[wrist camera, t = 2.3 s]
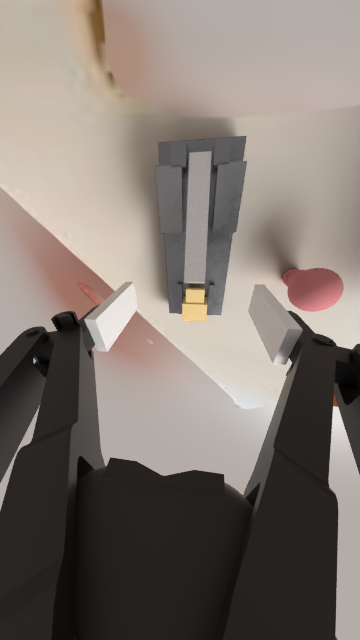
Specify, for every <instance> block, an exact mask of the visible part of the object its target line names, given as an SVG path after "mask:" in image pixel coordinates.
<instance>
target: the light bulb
mask: <svg viewBox="0 0 360 640" xmlns="http://www.w3.org/2000/svg"><path fill="white" fill-rule="evenodd" d="M283 282H284V284H286V286H288V297H289V300H290V302H291V303H292V304H293V305H294V306H295V307H297V308H299V309H301V310H304V311H312V312H314V311H321V310H324V309H327V308H329V307H331V306H332V305H334V304H335V303H336V302H337V301H338V300H339V299H340V297H341V295H342V293H343V282H342V280H341V278H340V277H339V276H338V275H337V274H336V273H335V272H333V271H331V270H328V269H324V268H314V269H309V270H298V269H290V270H288V271H287V272H285V274H284V275H283Z"/></svg>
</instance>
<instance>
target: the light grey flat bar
mask: <svg viewBox="0 0 360 640" xmlns="http://www.w3.org/2000/svg"><path fill="white" fill-rule="evenodd" d="M211 152H212V151H207V152H192V153H189V173H188V197H187V221H186V245H185V269H184V283H205V272H206V252H207V232H208V212H209V192H210V172H211Z"/></svg>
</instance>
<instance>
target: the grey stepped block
mask: <svg viewBox="0 0 360 640" xmlns="http://www.w3.org/2000/svg"><path fill="white" fill-rule="evenodd" d="M245 143H246V136H239V137H226V138H213V139H200V140H186V141H173V142H160V143H158V147H159V162H160V166H155V170H156V183H157V196H158V208H159V221H160V233H164V238H165V253H166V268H167V283H168V298H169V313H178V314H182V303H183V298H184V296H186V288H205V295H204V297H207V315H221V312H222V305H223V298H224V291H225V284H226V277H227V270H228V263H229V256H230V249H231V241H232V234H233V232H236V229H237V223H238V216H239V210H240V203H241V196H242V190H243V183H244V177H245V170H246V164H247V161H243V157H244V150H245ZM207 151H212V152H211V172H210V192H209V212H208V232H207V252H206V272H205V283H184V269H185V245H186V221H187V197H188V173H189V153H192V152H207Z"/></svg>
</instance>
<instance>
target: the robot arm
mask: <svg viewBox="0 0 360 640" xmlns="http://www.w3.org/2000/svg"><path fill="white" fill-rule="evenodd" d="M137 308H138V304H137V298H136V293H135V288H134V283H133V282H125V283H124V284H123V285H122V286H121V287H120V288H118V289H117V290H116V291H115V292H114V293H113V294H112V295H111V296H109V297H108V298H107V299H106V300H105V301H104V302H103V303H102V304H100V305H98V306H96V307H94V308H93V309H91V310H90V312H88V313H87V314H86V315H85V316H83V317H82V318H81V319H80V320H78V318H77V316H76V313H75V312H72V311H67V312H62V313H59V314H57V315H55V316H54V317H53V318H52V319H51V320H52V322H53V324H54V325H55V327H56V329H57V331H54V332H47V331H46V329H45V328H44V327H33V328H31V329H28V330H26V331H24V332H23V333H22V334H20V335H19V336H18V337H17V338H16V339H15V340H14V341H13V342H12V344H11V345H10V346H9V347H8V348H7V349H6V350H5V351H4V352H3V353H2V354H1V355H0V482H1V481H2V479H3V477H4V475H5V472H6V470H7V469H8V467H9V465H10V463H11V461H12V458H13V457H14V455H15V453H16V451H17V449H18V447H19V445H20V443H21V441H22V439H23V436H24V435H25V433H26V431H27V429H28V427H29V425H30V423H31V421H32V419H33V417H34V415H35V413H36V411H37V409H38V407H39V405H40V408H39V412H38V417H37V421H36V425H35V430H34V434H33V438H32V441H31V442H30V444H28V445H26V446H24V447H22V448H21V449H20V450H19V452H18V453H17V456H16V459H15V461H14V465H13V469H12V472H11V475H10V479H9V482H8V486H7V490H6V493H5V497H4V500H3V504H2V508H1V511H0V640H337V638H336V637H335V624H336V623H335V622H336V582H337V542H338V540H337V539H338V502H337V498H336V495H335V493H334V492H333V491H332V490H331V489H330V488H329V484H328V475H329V460H330V444H331V429H332V413H333V397H334V394H335V397H336V401H337V404H338V407H339V410H340V413H341V417H342V420H343V423H344V426H345V429H346V432H347V436H348V439H349V442H350V445H351V448H352V452H353V454H354V458H355V461H356V464H357V467H358V471H359V474H360V344H357V345H356V346H355V347H354V348H353V350H351V349H347V348H342V347H338V346H337V345H336V343H335V342H334V341H333V340H332V339H330V338H328V337H326V336H323V335H320V334H315V333H314V332H313V331H312V330H311V329H310V328H309V326H308V325H307V324H305V322H304V321H303V320H302V319H301V318H300V317H299V316H298V315H297V314H295V313H294V312H292V311H286V309H285V308H284V307H283V306H282V305H281V304H280V303H279V301H278V300H277V299H276V298H275V297H274V296H273V294H272V293H271V292H270V291H269V290H268V289H267V288H266V286H265V285H255V287H254V291H253V295H252V299H251V303H250V307H249V314H250V316H251V318H252V320H253V322H254V324H255V326H256V329H257V331H258V333H259V335H260V337H261V339H262V341H263V343H264V346H265V348H266V350H267V352H268V354H269V356H270V358H271V360H272V363H273V364H286V363H287V361H288V359H289V358H290V360H291V361H292V365H291V366H290V368H289V370H288V372H287V374H286V376H287V377H286V380H285V383H284V386H283V389H282V392H281V394H280V397H279V400H278V403H277V406H276V409H275V411H274V415H273V417H272V420H271V423H270V426H269V429H268V431H267V434H266V437H265V440H264V443H263V446H262V449H261V451H260V454H259V457H258V460H257V463H256V466H255V468H254V471H253V473H252V476H251V478H250V480H249V482H248V484H247V487H246V490H245V492H244V495H242V494H240V493H239V492H238V491H237V490H236V489H234V488H233V487H231V486H230V485H228V484H226V483H224V474H218V473H211V472H204V471H197V470H192V471H187V472H182V473H177V474H172V475H168V476H162V475H160V474H158V473H156V472H154V471H153V470H151V469H149V468H147V467H146V466H144V465H142V464H140V463H138V462H137V461H129V460H123V459H116V458H110V460H109V463H108V465H107V466H105V464H104V460H103V457H102V454H101V449H100V435H99V423H98V409H97V396H96V382H95V369H94V357H93V351H92V348H93V347H94V345H95V347H96V349H97V351H103V352H108V350H109V349H110V347H111V346H112V344H113V343H114V341H115V340H116V339H117V337H118V336H119V334H120V333H121V331H122V330H123V328H124V327H125V325H126V324H127V323H128V321H129V320H130V318H131V317H132V315H133V314H134V312H135V311H136V310H137ZM33 358H34V359H35V360H36V363H35V364H34V363H33ZM40 403H41V404H40Z"/></svg>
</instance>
